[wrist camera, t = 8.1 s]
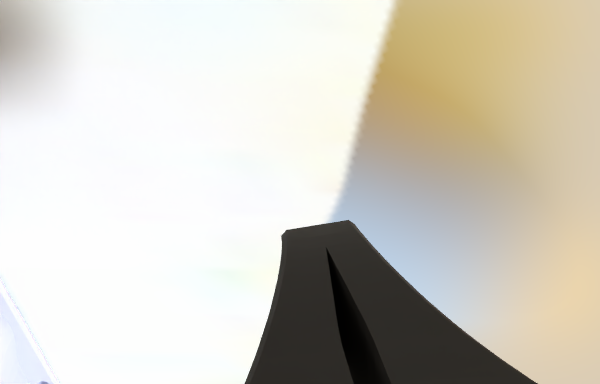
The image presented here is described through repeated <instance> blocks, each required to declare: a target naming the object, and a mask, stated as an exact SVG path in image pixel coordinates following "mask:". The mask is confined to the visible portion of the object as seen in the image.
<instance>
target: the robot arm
mask: <svg viewBox="0 0 600 384" xmlns="http://www.w3.org/2000/svg"><path fill="white" fill-rule="evenodd" d="M281 237H282V254H281V263H280V269H279V275H278V280H277V284H276V289H275V293H274V297H273V301H272V305H271V309H270V313H269V316H268V319H267V322H266V326H265V329H264V332H263V335H262V338H261V341H260V344H259V347H258V350H257V353H256V356H255V359H254V361H253V364H252V367H251V369H250V372H249V374H248V377H247V379H246V382H245V384H537V383H536V382H534V381H533V380H531V379H529V378H528V377H527V376H525V375H524V374H522V373H521V372H519V371H518V370H516V369H515V368H513V367H512V366H510V365H509V364H507V363H506V362H505V361H503V360H502V359H500V358H499V357H498V356H496V355H495V354H494V353H492V352H490V350H488V349H487V348H485V347H484V346H483V345H481V344H480V343H479V342H477V341H476V340H475V339H473V338H472V337H471V336H469V335H468V334H467V333H466V332H464V331H463V330H462V329H461V328H459V327H458V326H457V325H456V324H455V323H453V322H452V321H451V320H450V319H448V318H447V317H446V316H445V315H444V314H443V313H441V312H440V311H439V310H438V309H437V308H436V307H434V306H433V305H432V304H431V303H430V302H429V301H428V300H426V299H425V298H424V297H423V296H422V295H421V294H420V293H419V292H418V291H417V290H416V289H415V288H414V287H413V286H412V285H410V284H409V283H408V282H407V281H406V280H405V279H404V278H403V277H402V276H401V275H400V274H399V273H398V272H397V271H396V270H395V269H394V268H393V267H392V266H391V265H390V264H389V263H388V262H387V261H386V260H385V259H384V258H383V257H382V255H381V254H380V253H378V251H377V250H376V249H375V248H374V247H373V246H372V245H371V243H370V242H369V241H368V240H367V239H366V238H365V237H364V235H363V234H362V233H361V232H360V231H359V229H358V228H357V227H356V226H355V224H353V223H352V222H351V221H349V220H346V221H340V222H334V223H327V224H321V225H315V226H309V227H303V228H296V229H290V230H286V231H285V232H284V234H283V235H282V236H281ZM0 384H60V383H59V381H58V379H57V377H56V376H55V374H54V372H53V370H52V369H51V367H50V365H49V363H48V361H47V360H46V358H45V356H44V354H43V353H42V351H41V349H40V347H39V345H38V344H37V342H36V340H35V338H34V337H33V335H32V333H31V331H30V329H29V328H28V326H27V324H26V322H25V321H24V319H23V317H22V315H21V313H20V312H19V310H18V308H17V306H16V305H15V303H14V301H13V299H12V298H11V296H10V294H9V292H8V290H7V289H6V287H5V285H4V283H3V282H2V280H1V278H0Z"/></svg>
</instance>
